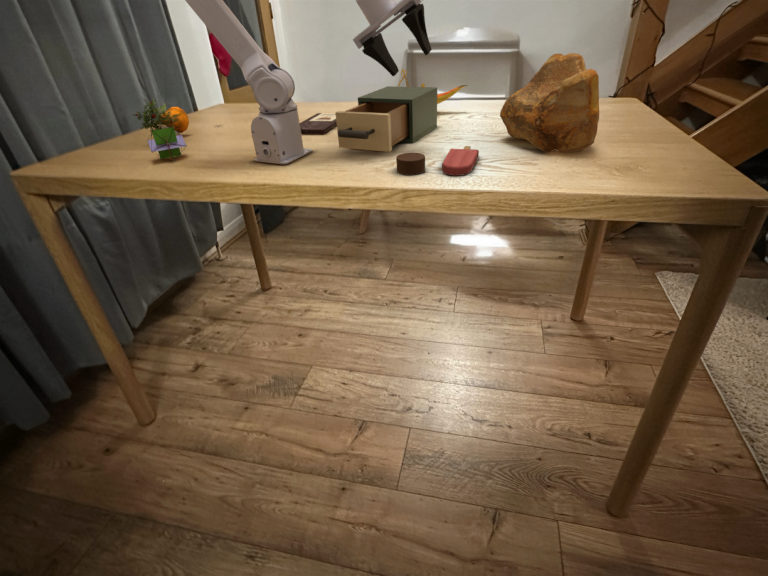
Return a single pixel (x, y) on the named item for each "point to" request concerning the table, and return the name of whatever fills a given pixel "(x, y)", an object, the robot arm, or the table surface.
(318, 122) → the chocolate bar
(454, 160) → the popsicle
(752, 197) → the table surface
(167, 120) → the christmas decoration
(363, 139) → the drawer
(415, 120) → the cabinet
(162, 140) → the geometric puzzle
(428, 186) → the table surface
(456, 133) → the table surface
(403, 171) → the cookie
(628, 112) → the table surface
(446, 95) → the magic lamp
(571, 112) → the rough brown rock
